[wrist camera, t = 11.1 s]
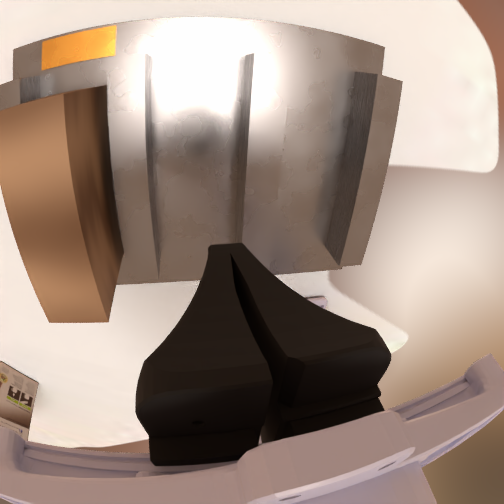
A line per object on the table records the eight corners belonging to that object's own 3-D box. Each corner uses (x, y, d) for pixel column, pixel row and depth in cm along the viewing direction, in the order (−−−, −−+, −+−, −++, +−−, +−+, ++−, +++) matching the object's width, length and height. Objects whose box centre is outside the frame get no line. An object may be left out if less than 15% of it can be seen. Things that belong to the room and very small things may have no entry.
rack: (339, 265, 27) (355, 289, 24) (57, 282, 22) (45, 310, 19) (380, 47, 16) (409, 47, 13) (17, 49, 11) (-9, 49, 8)
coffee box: (-1, 359, 25) (-27, 471, 12) (40, 382, 29) (24, 494, 16) (-10, 382, 27) (-28, 475, 14) (25, 401, 31) (13, 494, 18)
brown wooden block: (123, 252, 21) (108, 322, 15) (75, 255, 20) (49, 322, 14) (106, 85, 14) (63, 93, 9) (49, 95, 13) (-11, 114, 8)
